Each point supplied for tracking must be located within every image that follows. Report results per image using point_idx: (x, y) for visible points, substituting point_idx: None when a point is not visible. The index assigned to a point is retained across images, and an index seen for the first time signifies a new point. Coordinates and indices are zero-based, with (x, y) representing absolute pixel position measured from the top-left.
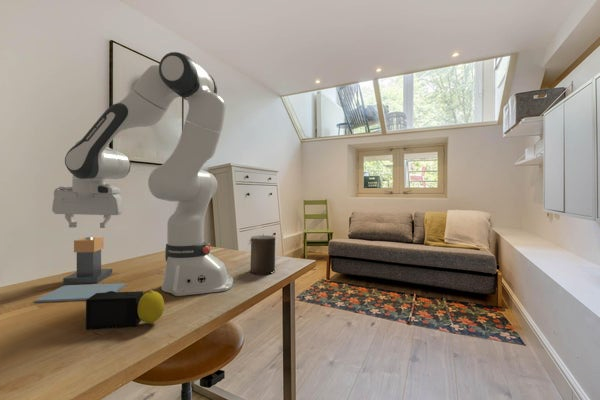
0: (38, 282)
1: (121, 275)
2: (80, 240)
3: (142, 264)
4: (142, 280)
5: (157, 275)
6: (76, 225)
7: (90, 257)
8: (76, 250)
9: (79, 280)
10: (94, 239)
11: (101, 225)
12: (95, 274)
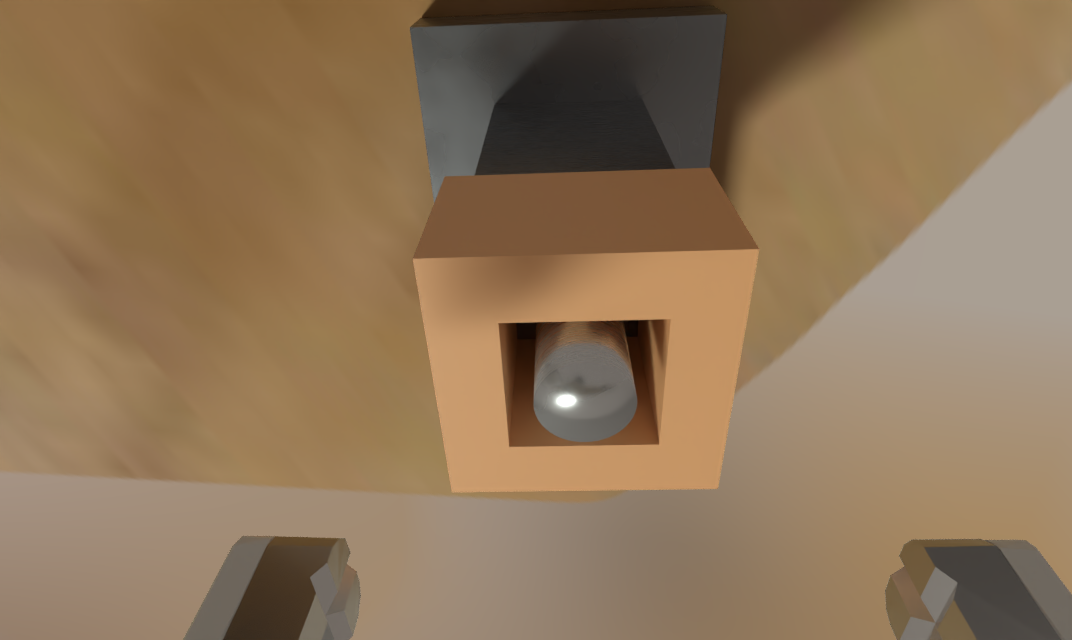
0: (954, 87)
1: (355, 232)
2: (645, 252)
3: (377, 479)
4: (63, 72)
5: (47, 210)
6: (899, 628)
7: (510, 167)
8: (681, 180)
9: (576, 17)
10: (461, 334)
11: (285, 579)
12: (485, 124)
